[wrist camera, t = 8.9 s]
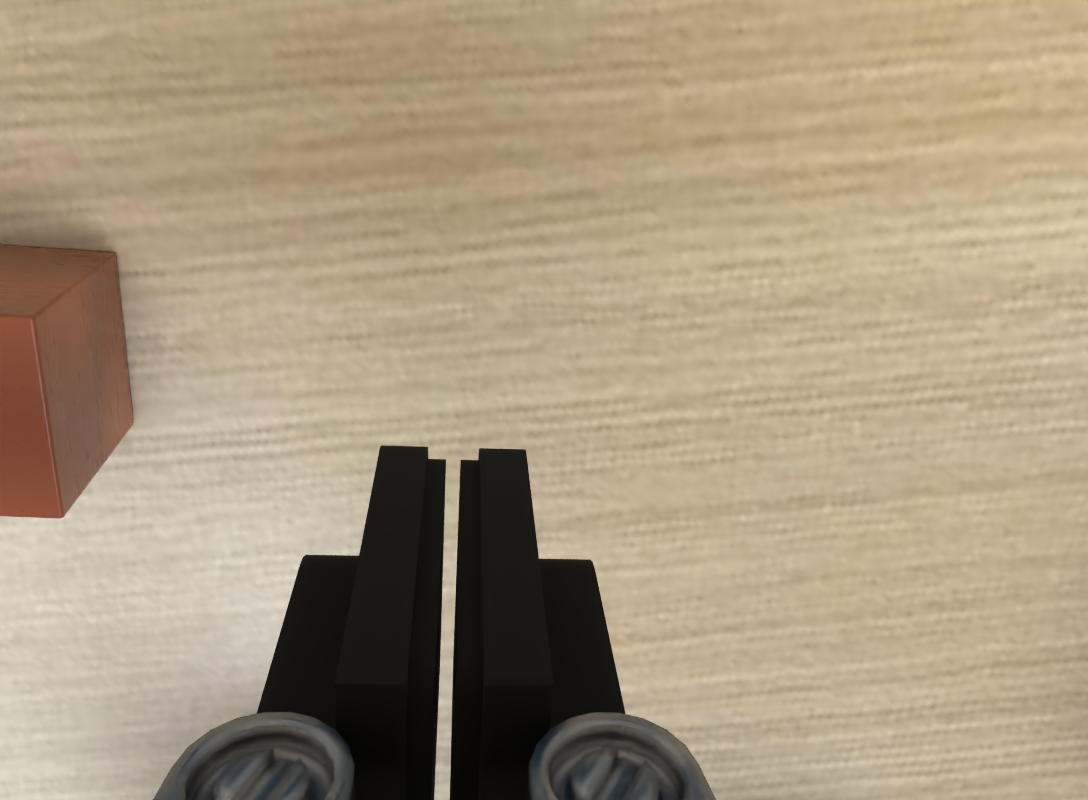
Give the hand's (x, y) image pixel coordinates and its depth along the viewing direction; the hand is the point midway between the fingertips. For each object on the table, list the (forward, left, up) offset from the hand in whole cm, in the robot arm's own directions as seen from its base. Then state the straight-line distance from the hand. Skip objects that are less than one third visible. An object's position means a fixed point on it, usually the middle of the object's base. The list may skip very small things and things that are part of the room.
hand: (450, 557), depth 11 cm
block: (+6, -9, -12) cm, 16 cm away
